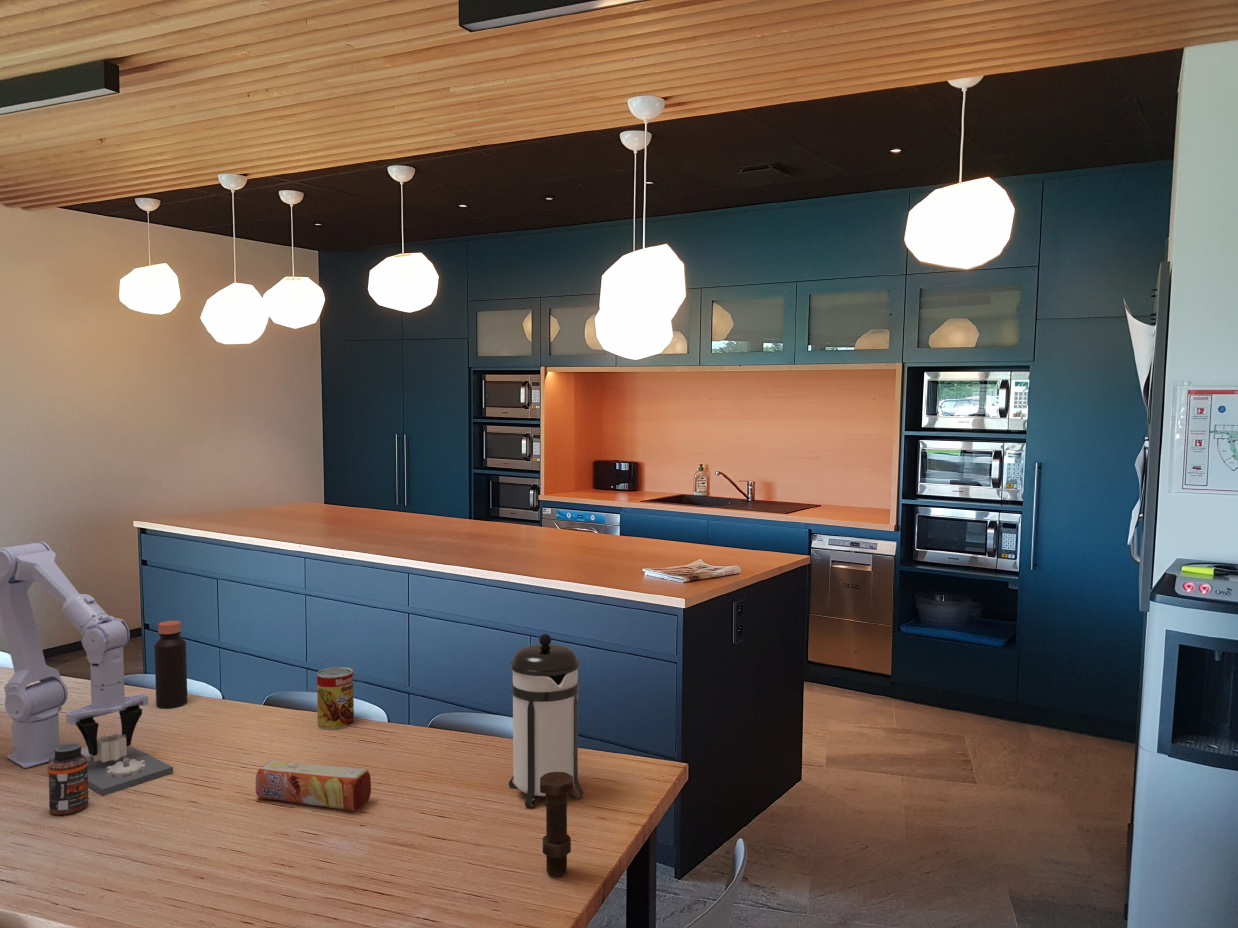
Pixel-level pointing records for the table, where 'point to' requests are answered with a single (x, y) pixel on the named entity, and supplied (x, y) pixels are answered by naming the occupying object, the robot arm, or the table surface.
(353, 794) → the snack package
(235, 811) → the table surface
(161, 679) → the vinegar
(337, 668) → the canned food
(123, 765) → the gear board
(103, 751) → the idler gear
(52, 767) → the supplement bottle
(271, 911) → the table surface
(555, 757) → the coffee press
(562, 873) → the bolt
